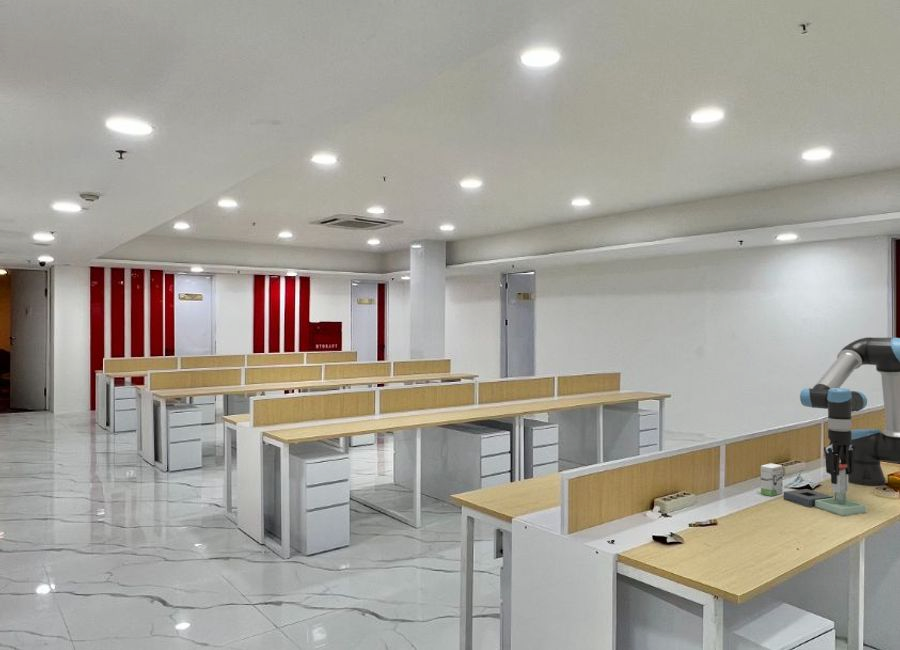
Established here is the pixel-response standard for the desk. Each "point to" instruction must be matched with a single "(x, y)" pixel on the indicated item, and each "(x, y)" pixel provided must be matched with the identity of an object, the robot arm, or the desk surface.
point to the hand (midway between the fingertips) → (840, 491)
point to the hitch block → (804, 497)
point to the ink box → (771, 479)
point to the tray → (840, 507)
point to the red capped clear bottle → (841, 485)
